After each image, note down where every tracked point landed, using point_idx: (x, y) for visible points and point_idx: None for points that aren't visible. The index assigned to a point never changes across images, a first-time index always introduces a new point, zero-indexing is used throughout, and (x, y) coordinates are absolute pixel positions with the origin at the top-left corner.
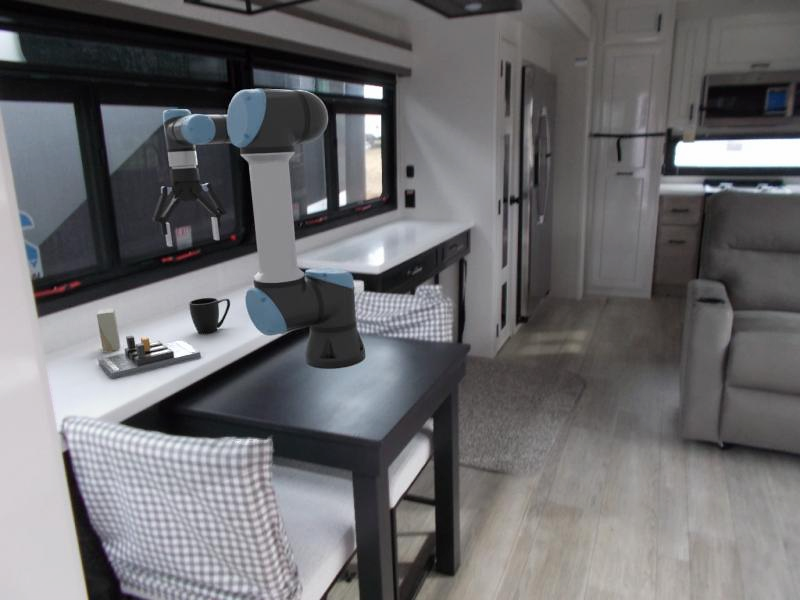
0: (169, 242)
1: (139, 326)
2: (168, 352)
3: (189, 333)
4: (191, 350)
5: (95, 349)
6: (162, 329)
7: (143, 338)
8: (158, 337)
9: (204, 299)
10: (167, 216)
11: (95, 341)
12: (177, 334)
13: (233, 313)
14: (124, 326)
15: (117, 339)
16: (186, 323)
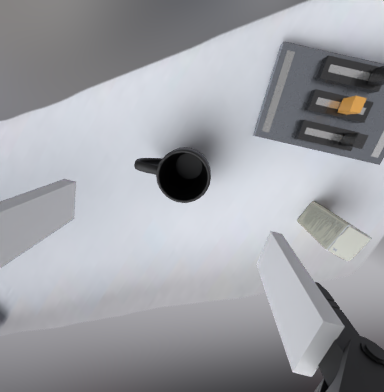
0: (287, 243)
1: (227, 274)
2: (336, 57)
3: None
4: (287, 62)
5: None
6: (219, 235)
7: (359, 106)
8: (246, 205)
9: (169, 194)
10: (366, 390)
11: None
12: (222, 194)
13: (111, 214)
14: (238, 290)
15: (320, 206)
16: (182, 231)
